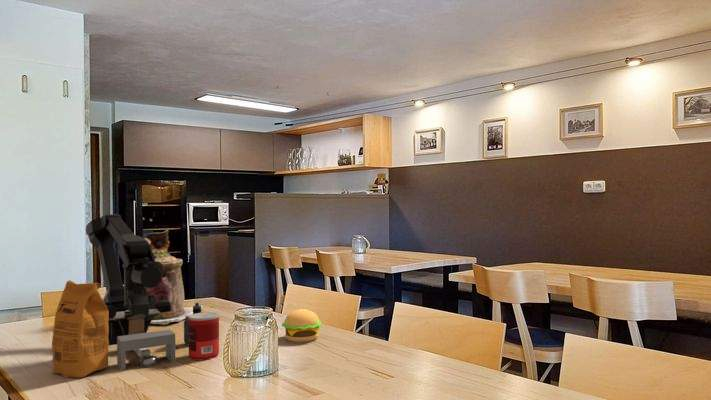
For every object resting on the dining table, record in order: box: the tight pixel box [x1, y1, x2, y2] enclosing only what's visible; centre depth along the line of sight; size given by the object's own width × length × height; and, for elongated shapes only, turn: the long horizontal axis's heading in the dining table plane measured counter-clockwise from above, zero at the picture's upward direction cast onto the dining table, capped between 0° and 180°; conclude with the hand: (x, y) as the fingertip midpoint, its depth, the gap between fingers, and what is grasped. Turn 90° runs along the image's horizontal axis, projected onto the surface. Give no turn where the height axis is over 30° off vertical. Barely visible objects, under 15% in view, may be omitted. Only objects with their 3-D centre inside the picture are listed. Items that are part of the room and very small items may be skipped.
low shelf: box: [116, 328, 176, 371], centre depth 132 cm, size 6×13×7 cm, turn 124°
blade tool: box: [127, 316, 151, 359], centre depth 139 cm, size 16×4×8 cm, turn 33°
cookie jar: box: [134, 229, 203, 326], centre depth 186 cm, size 25×25×32 cm
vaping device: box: [183, 302, 202, 346], centre depth 149 cm, size 3×5×12 cm, turn 78°
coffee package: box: [51, 280, 110, 379], centre depth 125 cm, size 10×12×22 cm
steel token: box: [139, 354, 158, 368], centre depth 130 cm, size 4×4×2 cm
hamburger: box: [281, 308, 322, 343], centre depth 155 cm, size 12×12×9 cm
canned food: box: [188, 311, 220, 361], centre depth 137 cm, size 8×8×11 cm
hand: (135, 339), depth 144 cm, fingers closed on blade tool, 4 cm apart
